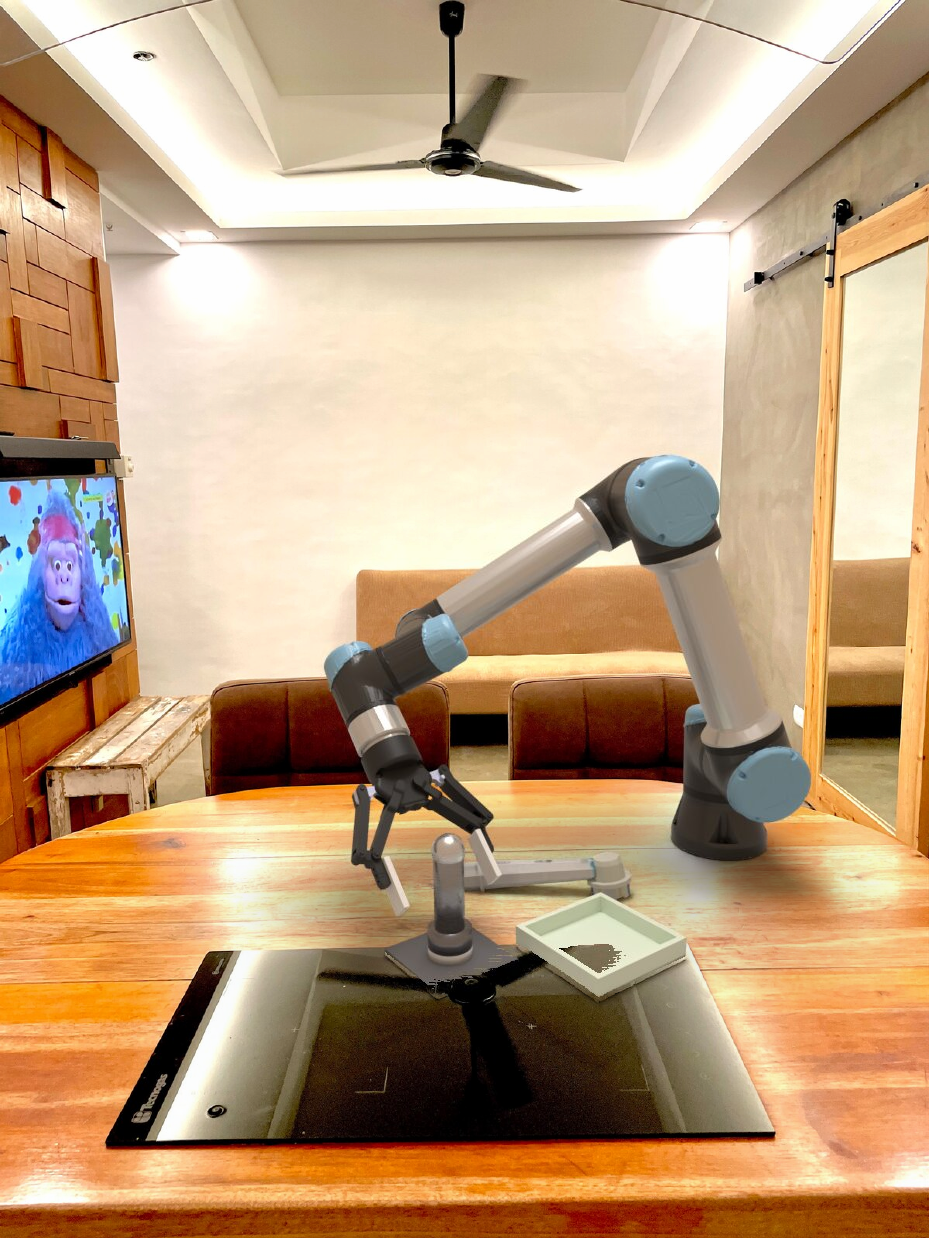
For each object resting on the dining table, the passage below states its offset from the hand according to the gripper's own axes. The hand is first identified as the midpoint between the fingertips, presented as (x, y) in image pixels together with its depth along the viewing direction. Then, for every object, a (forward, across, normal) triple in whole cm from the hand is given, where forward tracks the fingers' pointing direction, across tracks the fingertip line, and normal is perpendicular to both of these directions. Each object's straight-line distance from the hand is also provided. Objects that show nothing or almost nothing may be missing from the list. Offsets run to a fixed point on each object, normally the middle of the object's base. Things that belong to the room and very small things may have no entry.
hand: (450, 895), depth 107 cm
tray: (+13, -16, 0) cm, 21 cm away
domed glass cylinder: (+4, 0, -6) cm, 7 cm away
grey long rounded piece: (+1, -22, -13) cm, 25 cm away
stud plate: (+6, 0, -7) cm, 9 cm away
